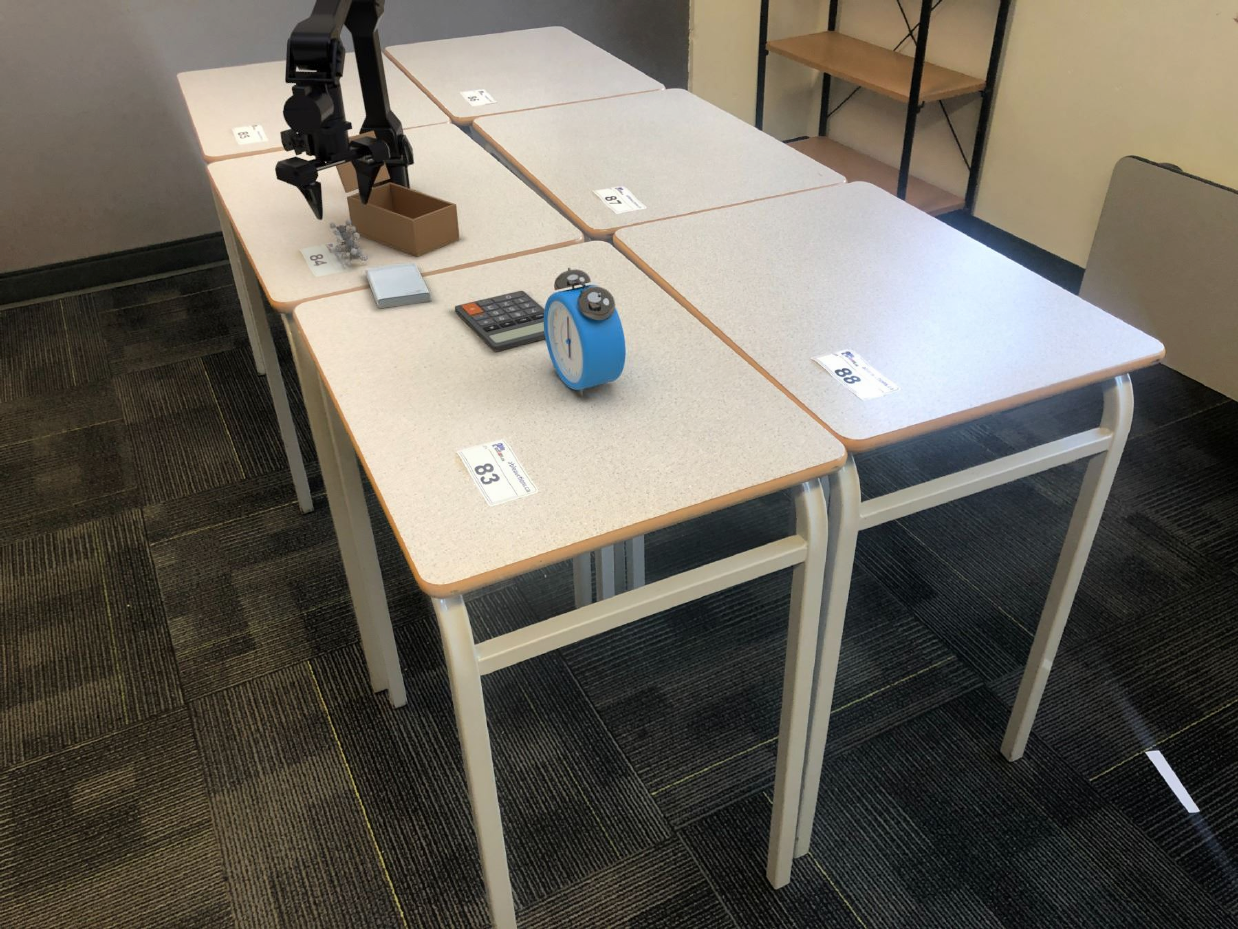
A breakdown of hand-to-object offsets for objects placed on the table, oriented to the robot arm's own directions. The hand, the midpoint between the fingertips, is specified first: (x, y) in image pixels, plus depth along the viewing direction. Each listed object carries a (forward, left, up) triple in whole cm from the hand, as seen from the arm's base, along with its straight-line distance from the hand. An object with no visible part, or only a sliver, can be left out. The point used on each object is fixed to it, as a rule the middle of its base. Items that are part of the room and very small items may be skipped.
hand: (342, 211), depth 159 cm
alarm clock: (+7, +59, -8) cm, 59 cm away
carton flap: (-12, -9, +4) cm, 16 cm away
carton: (-12, +1, -8) cm, 14 cm away
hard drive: (+4, +17, -8) cm, 19 cm away
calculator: (+1, +39, -8) cm, 39 cm away
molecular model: (0, 0, -8) cm, 8 cm away
